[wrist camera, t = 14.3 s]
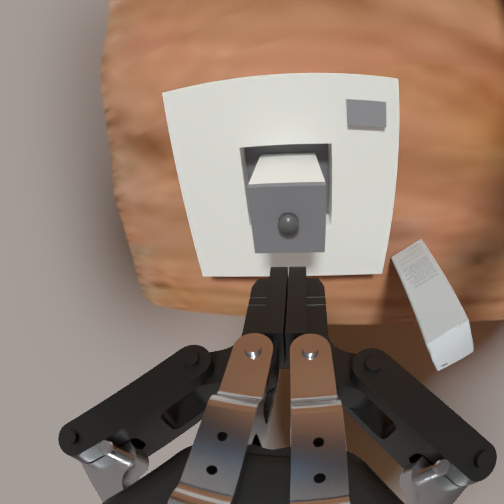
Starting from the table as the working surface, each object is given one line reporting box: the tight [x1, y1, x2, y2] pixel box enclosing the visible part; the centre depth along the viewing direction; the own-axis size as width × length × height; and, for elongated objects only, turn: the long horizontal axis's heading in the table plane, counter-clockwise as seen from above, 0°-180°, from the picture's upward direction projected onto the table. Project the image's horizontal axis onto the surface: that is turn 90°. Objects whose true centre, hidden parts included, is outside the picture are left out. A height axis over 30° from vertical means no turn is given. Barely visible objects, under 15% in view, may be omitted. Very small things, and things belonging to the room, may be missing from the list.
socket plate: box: [162, 73, 399, 277], centre depth 22 cm, size 18×18×3 cm
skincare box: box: [391, 239, 474, 371], centre depth 21 cm, size 6×4×12 cm
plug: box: [247, 152, 326, 253], centre depth 19 cm, size 4×4×9 cm
